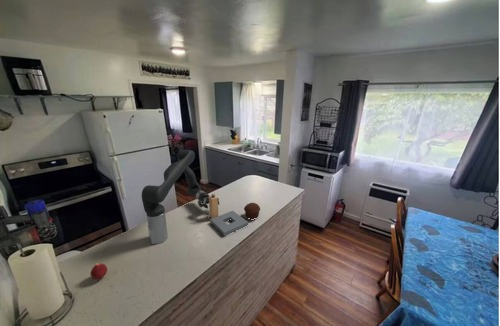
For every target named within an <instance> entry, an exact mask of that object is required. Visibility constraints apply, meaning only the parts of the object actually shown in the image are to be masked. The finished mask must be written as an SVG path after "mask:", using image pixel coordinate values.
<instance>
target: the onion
mask: <svg viewBox="0 0 500 326" xmlns="http://www.w3.org/2000/svg"><path fill="white" fill-rule="evenodd" d="M107 272H108V267H107V265H106V264H105V263H97V262H96V263H95V265H94V266H93V267H92V268H91V271H90V277H91V278H92V279H94V280H99V279H102V278H104V277H105V276H106V275H107Z"/></svg>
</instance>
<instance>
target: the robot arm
mask: <svg viewBox="0 0 500 326" xmlns="http://www.w3.org/2000/svg"><path fill="white" fill-rule="evenodd" d="M176 157H177V161H175V162H173V163H171V164H170V165H169V166H167V168H166V169H165V170H164V172H163V179H164V180H163V183H162V184H160V185H145V186H144V187H143V189H142V191H141V200H142V205H143V209H144V212H145V213H146V219H147V229H148V237H149V241H150V242H151V245H159V244H161V243H163V242H166V240H168V238H169V234H168V226H167V218H166V212H165V206H164V205H163V204H162V202H164V200H165V199H166V198H167V196H168V194H169V192H170V191H171V190H172V187H173V186H174V184H175V183H176V182H177V181H178V180H179V178H180V177H181V176H182V174H183V173H184V175H185V179H186V180H185V181H186V183H187V185H188V186H189V187H187V189H186V192H187V194H188V195H189V196H191V197H193V198H196V200H197V205H198V206H199V207H200V208H205V209H206V210H209V197H210V195H209V194H208V193H207V192H205V191H203V190H202V189H201V186H200V185H199V183H198V181H197V178H196V174H195V172H194V171H193V170H192V168H190V167H189V166H190V165H191V164H192V163H193V162H194V160H195V157H196V154H195V152H194V150H191V149H180V150H178V152H177V155H176ZM219 199H220V198H218V206H220V200H219Z"/></svg>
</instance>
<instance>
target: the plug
mask: <svg viewBox="0 0 500 326" xmlns="http://www.w3.org/2000/svg"><path fill="white" fill-rule="evenodd" d="M209 196H210V195H209ZM208 210H209V218H210V217H211V218H215V217H217V216H219V205H218V196H216V194H213V193H212V194H211V196H210V197H209V204H208ZM211 218H210V219H211Z"/></svg>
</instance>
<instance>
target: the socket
mask: <svg viewBox="0 0 500 326" xmlns="http://www.w3.org/2000/svg"><path fill="white" fill-rule="evenodd" d="M230 219H231V220H232V221H233V222H231V223H229V224H228V223H227V222H226V221H228V220H230ZM209 222H211V223H212V224H213V225H214V226H215V227H216V228H217V229H218V230H219V231H220V232H221V233H222V234H223V235H224V236H226V235H228V234H230V233H232V232H234V231H236V230H239V229H241V228H243V227H245V226H247V225H248V226H249V221H248V220H246V219H244V218H243V216H240V215H239V213H237V212H235V211H234V210H231V211H228V212H225V213H223V214H221V215H220V214H219V215H218V216H217V217H215V218H212V219H211V218H210V221H209ZM225 222H226V223H225ZM211 223H210V224H211ZM212 224H211V225H212ZM213 225H212V226H213ZM214 226H213V227H214ZM248 226H247V227H248ZM215 227H214V228H215ZM216 228H215V229H216ZM245 228H246V227H245ZM217 229H216V230H217ZM243 229H244V228H243ZM218 230H217V231H218ZM241 230H242V229H241ZM219 231H218V232H219ZM239 231H240V230H239ZM220 232H219V233H220ZM221 233H220V234H221ZM234 233H235V232H234ZM222 234H221V235H222ZM232 234H233V233H232ZM223 235H222V236H223ZM230 235H231V234H230ZM224 236H223V237H224ZM228 236H229V235H228ZM226 237H227V236H226Z"/></svg>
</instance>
